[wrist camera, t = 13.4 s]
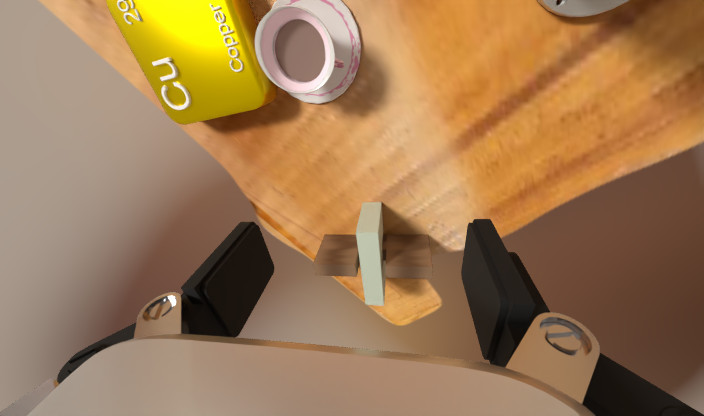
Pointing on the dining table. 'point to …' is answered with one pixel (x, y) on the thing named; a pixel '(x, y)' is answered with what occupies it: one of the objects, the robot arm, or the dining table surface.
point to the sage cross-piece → (371, 252)
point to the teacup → (309, 48)
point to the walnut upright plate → (398, 251)
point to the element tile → (196, 55)
